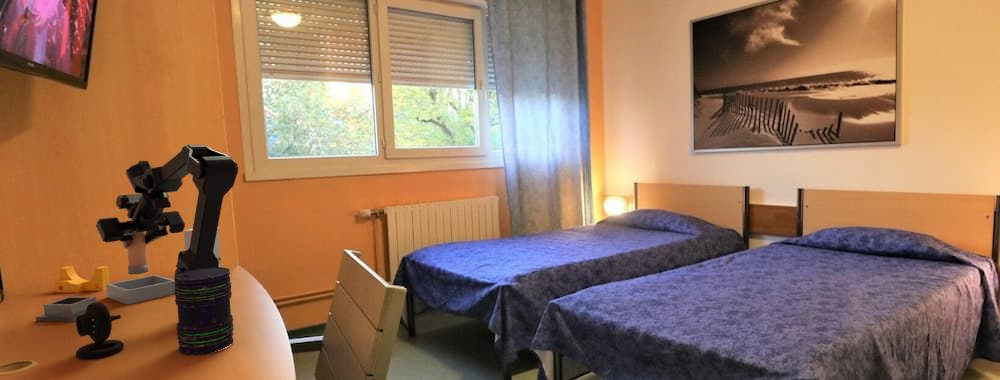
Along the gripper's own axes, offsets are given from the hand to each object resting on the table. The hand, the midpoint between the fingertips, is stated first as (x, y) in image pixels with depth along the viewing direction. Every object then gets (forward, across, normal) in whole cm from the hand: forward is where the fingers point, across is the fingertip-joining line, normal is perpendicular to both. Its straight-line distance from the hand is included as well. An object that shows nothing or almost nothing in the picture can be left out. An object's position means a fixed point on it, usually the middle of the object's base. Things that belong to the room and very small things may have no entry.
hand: (134, 245), depth 141 cm
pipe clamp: (+23, +6, -4) cm, 24 cm away
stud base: (+6, +16, +13) cm, 22 cm away
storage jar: (-27, +9, +47) cm, 55 cm away
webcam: (-17, +22, +37) cm, 46 cm away
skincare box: (+14, -21, +6) cm, 25 cm away
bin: (+9, -1, +10) cm, 14 cm away
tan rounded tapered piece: (+4, 0, +6) cm, 7 cm away
